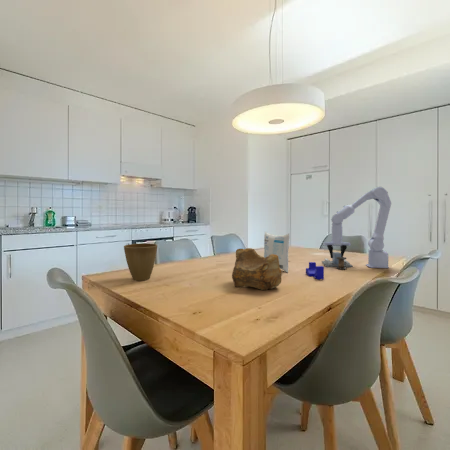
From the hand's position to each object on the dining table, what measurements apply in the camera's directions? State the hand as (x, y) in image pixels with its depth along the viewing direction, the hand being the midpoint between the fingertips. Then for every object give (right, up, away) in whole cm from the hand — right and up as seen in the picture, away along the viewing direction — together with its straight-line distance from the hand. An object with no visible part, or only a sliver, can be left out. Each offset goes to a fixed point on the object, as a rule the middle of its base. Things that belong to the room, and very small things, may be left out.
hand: (336, 258), depth 162 cm
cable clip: (-22, -6, -29) cm, 37 cm away
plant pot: (-104, -6, -32) cm, 109 cm away
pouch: (-37, -5, -12) cm, 40 cm away
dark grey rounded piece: (-2, -4, -11) cm, 12 cm away
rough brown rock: (-54, -7, -45) cm, 71 cm away
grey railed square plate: (0, -4, 0) cm, 4 cm away
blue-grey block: (0, -3, 0) cm, 3 cm away
